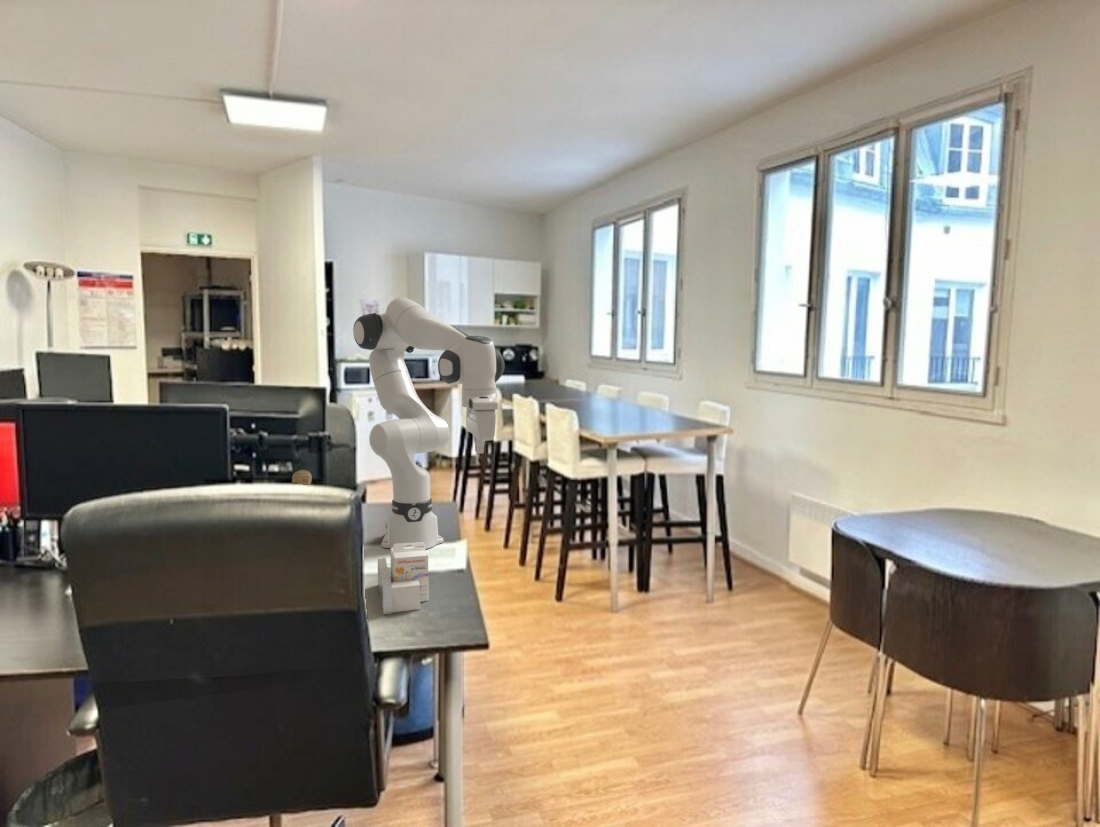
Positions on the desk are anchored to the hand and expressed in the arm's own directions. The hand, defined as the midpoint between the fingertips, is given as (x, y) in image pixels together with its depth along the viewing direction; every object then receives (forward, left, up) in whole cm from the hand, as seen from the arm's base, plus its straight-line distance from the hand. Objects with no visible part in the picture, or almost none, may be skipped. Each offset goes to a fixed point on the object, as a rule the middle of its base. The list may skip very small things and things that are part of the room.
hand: (479, 452), depth 188 cm
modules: (+7, -21, -34) cm, 41 cm away
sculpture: (-9, -44, -34) cm, 56 cm away
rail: (+7, -25, -34) cm, 43 cm away
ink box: (+7, -19, -34) cm, 40 cm away
